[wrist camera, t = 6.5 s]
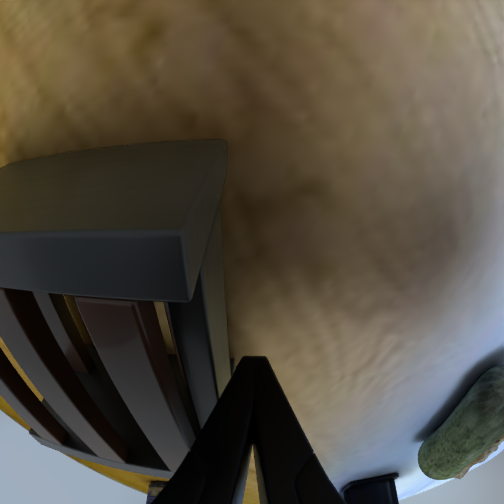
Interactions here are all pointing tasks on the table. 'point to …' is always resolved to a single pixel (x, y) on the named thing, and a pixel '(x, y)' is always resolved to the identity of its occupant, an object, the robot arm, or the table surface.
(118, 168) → the rack
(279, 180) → the table surface
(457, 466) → the vegetable
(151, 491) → the pill bottle
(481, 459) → the stone
